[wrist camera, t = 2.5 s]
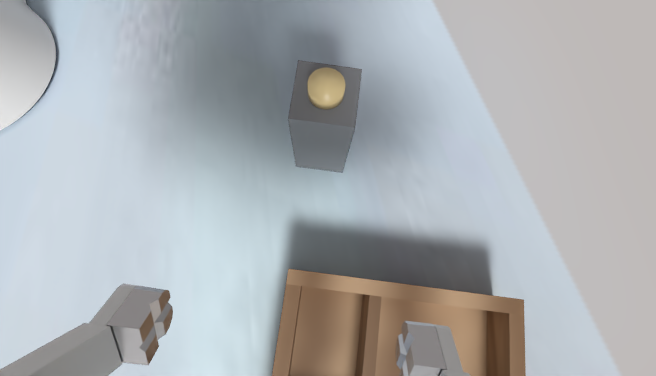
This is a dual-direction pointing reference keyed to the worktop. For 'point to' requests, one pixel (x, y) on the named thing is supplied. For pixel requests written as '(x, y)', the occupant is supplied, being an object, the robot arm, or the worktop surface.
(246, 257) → the worktop surface
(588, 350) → the worktop surface
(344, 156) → the push button
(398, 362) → the robot arm
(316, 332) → the caddy
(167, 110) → the worktop surface
